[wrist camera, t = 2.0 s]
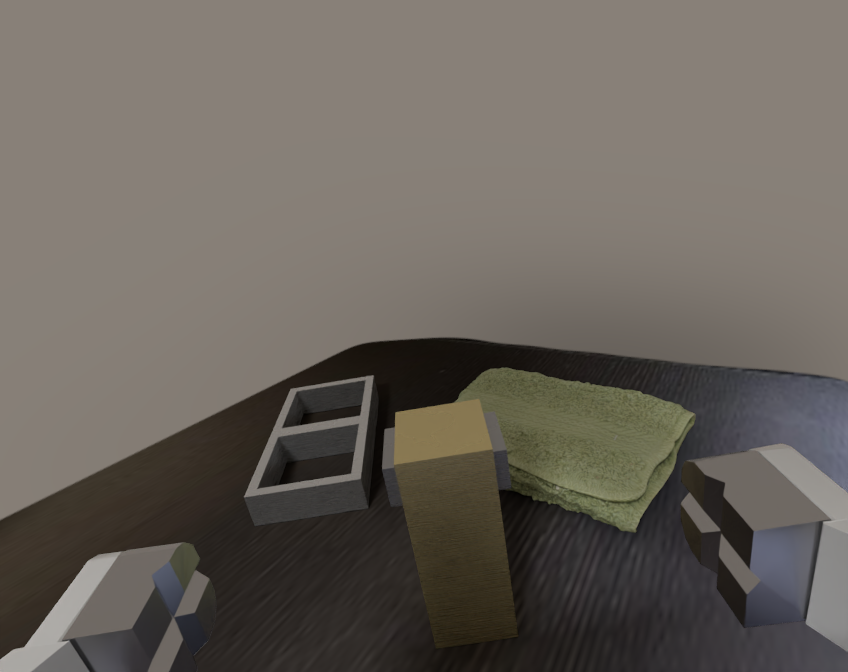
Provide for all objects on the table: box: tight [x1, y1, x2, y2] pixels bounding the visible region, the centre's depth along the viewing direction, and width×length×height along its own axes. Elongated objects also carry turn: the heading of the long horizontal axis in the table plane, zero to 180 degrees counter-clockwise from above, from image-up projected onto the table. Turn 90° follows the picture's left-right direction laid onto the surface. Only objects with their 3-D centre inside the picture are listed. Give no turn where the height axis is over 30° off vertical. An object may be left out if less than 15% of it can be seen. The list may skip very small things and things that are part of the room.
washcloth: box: [454, 368, 695, 532], centre depth 37 cm, size 13×18×3 cm
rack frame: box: [244, 375, 379, 526], centre depth 41 cm, size 8×15×2 cm, turn 2°
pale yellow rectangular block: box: [382, 399, 518, 649], centre depth 24 cm, size 5×4×11 cm
